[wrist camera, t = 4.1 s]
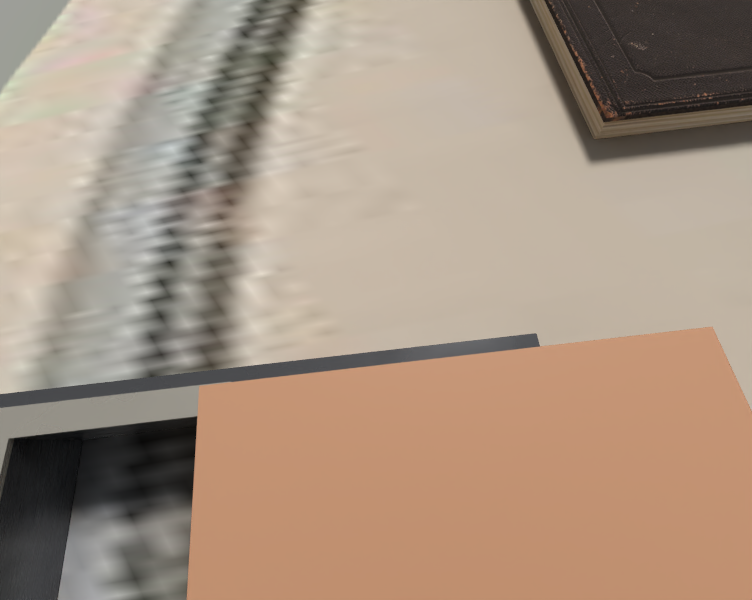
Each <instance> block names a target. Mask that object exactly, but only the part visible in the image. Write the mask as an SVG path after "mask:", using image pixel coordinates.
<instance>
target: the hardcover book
mask: <svg viewBox="0 0 752 600" xmlns="http://www.w3.org/2000/svg"><path fill="white" fill-rule="evenodd" d="M530 2H531V4H532V7H533V9H534V11H535V13H536V15H537V17H538V20H539V22H540V24H541V26H542V28H543V30H544V33H545V35H546V37H547V39H548V41H549V43H550V45H551V48H552V50H553V52H554V54H555V56H556V58H557V61H558V63H559V65H560V67H561V69H562V71H563V74H564V76H565V78H566V80H567V82H568V84H569V87H570V89H571V91H572V93H573V95H574V97H575V100H576V102H577V104H578V106H579V108H580V110H581V112H582V115H583V117H584V119H585V121H586V123H587V125H588V128H589V130H590V132H591V134H592V136H593V138H594V139H602V138H610V137H619V136H627V135H635V134H644V133H652V132H661V131H669V130H677V129H686V128H694V127H703V126H711V125H719V124H728V123H736V122H745V121H752V0H530Z"/></svg>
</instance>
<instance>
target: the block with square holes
mask: <svg viewBox="0 0 752 600" xmlns="http://www.w3.org/2000/svg"><path fill="white" fill-rule="evenodd" d="M532 347H540V345H539V342H538V338H537V334H536V333H535V334H527V335H518V336H509V337H500V338H491V339H483V340H474V341H465V342H456V343H447V344H439V345H430V346H421V347H412V348H403V349H395V350H386V351H377V352H368V353H360V354H351V355H342V356H333V357H324V358H316V359H307V360H298V361H289V362H280V363H272V364H263V365H254V366H245V367H236V368H228V369H219V370H210V371H201V372H193V373H184V374H175V375H166V376H157V377H149V378H140V379H131V380H122V381H113V382H105V383H96V384H87V385H78V386H69V387H61V388H52V389H43V390H34V391H26V392H17V393H8V394H0V600H57V595H58V589H59V583H60V577H61V571H62V564H63V558H64V552H65V546H66V540H67V534H68V527H69V521H70V515H71V509H72V503H73V496H74V490H75V484H76V478H77V472H78V465H79V459H80V453H81V447H82V441H83V440H86V439H95V438H103V437H111V436H120V435H128V434H137V433H145V432H153V431H162V430H170V429H179V428H187V427H195V426H197V415H198V398H199V386H202V385H211V384H220V383H228V382H237V381H246V380H254V379H263V378H272V377H280V376H289V375H298V374H306V373H315V372H324V371H332V370H341V369H350V368H358V367H367V366H376V365H384V364H393V363H402V362H410V361H419V360H428V359H436V358H445V357H454V356H463V355H471V354H480V353H489V352H497V351H506V350H515V349H523V348H532Z"/></svg>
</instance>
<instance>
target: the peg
mask: <svg viewBox="0 0 752 600" xmlns="http://www.w3.org/2000/svg"><path fill="white" fill-rule="evenodd" d="M187 600H752V411H751V409H750V407H749V405H748V402H747V400H746V398H745V396H744V394H743V392H742V389H741V387H740V385H739V383H738V381H737V379H736V377H735V374H734V372H733V370H732V368H731V366H730V364H729V362H728V359H727V357H726V355H725V353H724V351H723V349H722V346H721V344H720V342H719V340H718V338H717V336H716V334H715V331H714V329H713V327H705V328H697V329H688V330H679V331H671V332H662V333H653V334H645V335H636V336H627V337H619V338H610V339H601V340H593V341H584V342H575V343H567V344H558V345H549V346H541V347H532V348H523V349H515V350H506V351H497V352H489V353H480V354H471V355H463V356H454V357H445V358H436V359H428V360H419V361H410V362H402V363H393V364H384V365H376V366H367V367H358V368H350V369H341V370H332V371H324V372H315V373H306V374H298V375H289V376H280V377H272V378H263V379H254V380H246V381H237V382H228V383H220V384H211V385H202V386H199V398H198V415H197V433H196V450H195V467H194V484H193V501H192V519H191V536H190V553H189V570H188V587H187Z"/></svg>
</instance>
